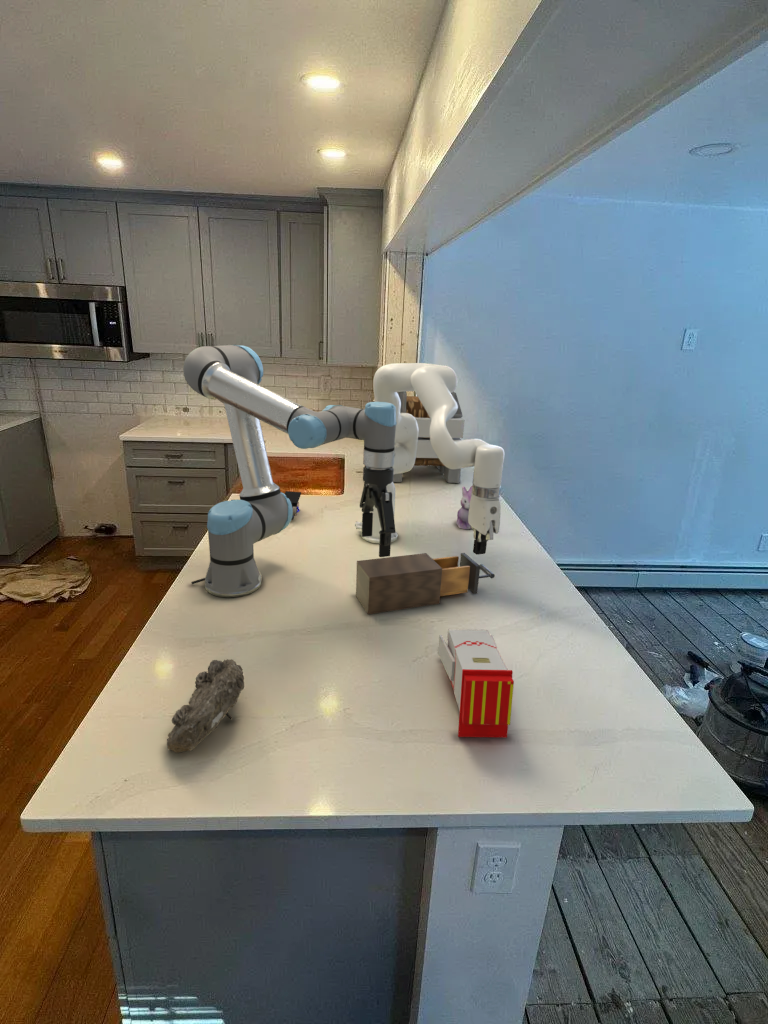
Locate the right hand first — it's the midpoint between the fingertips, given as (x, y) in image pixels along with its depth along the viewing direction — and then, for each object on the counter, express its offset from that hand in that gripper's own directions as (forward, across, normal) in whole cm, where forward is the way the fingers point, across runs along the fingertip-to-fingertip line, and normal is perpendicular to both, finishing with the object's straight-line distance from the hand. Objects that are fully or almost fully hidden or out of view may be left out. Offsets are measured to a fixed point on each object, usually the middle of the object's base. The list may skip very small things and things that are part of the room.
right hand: (479, 553), depth 159 cm
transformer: (+11, +115, -33) cm, 120 cm away
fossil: (+11, -33, +75) cm, 83 cm away
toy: (+11, -41, +24) cm, 49 cm away
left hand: (-6, 0, +31) cm, 32 cm away
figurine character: (+11, +71, +39) cm, 82 cm away
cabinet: (+11, 0, +24) cm, 27 cm away
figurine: (+11, +46, -22) cm, 52 cm away
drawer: (+10, 0, +9) cm, 13 cm away
